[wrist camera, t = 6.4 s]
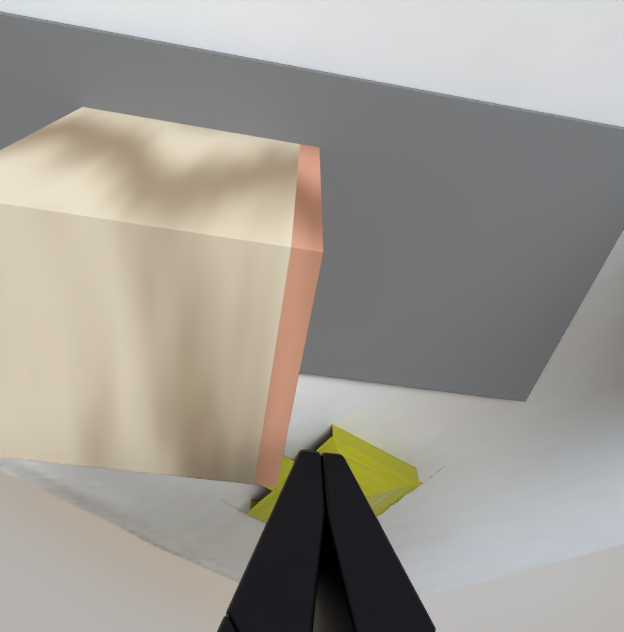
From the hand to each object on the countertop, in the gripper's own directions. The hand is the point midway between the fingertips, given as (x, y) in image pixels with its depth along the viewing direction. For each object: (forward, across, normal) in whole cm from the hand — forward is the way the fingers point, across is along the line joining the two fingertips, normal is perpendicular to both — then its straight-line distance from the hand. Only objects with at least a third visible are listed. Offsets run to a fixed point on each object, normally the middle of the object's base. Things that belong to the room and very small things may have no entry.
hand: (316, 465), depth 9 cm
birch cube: (+6, 0, 0) cm, 6 cm away
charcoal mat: (+10, +2, 0) cm, 10 cm away
